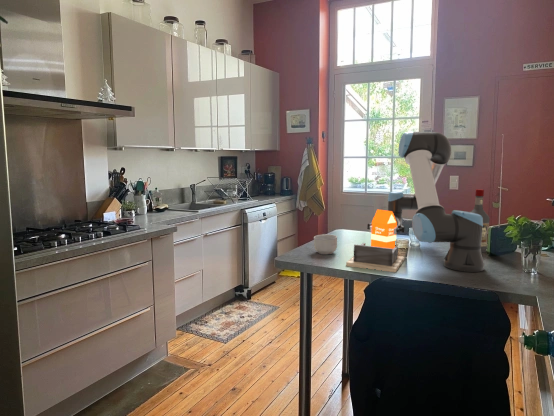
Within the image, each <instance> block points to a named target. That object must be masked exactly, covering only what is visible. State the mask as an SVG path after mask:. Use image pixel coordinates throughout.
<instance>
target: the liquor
mask: <svg viewBox="0 0 554 416" xmlns="http://www.w3.org/2000/svg"><path fill="white" fill-rule="evenodd" d="M484 195H485V189H479V188H476V189H475V195H474V196H475V199H474V201H475V202H474V207H473V209H472V210H471V211H470V212H471V213H475V214H479V215H481V216H482V218H483V228H482V240H481V253H486V252H487V251H486V249H487V250H488V244H487V234H488V235H489V232H488V228H489V229H490V219H491V218H490V216H489V214H487V212H486V211H485V210H484V205H483V204H484Z"/></svg>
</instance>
